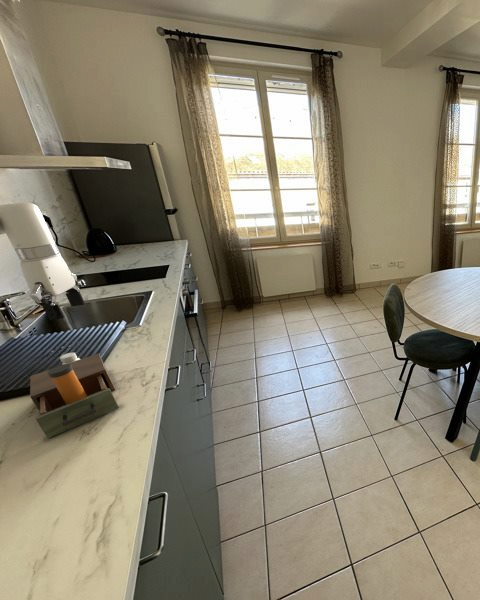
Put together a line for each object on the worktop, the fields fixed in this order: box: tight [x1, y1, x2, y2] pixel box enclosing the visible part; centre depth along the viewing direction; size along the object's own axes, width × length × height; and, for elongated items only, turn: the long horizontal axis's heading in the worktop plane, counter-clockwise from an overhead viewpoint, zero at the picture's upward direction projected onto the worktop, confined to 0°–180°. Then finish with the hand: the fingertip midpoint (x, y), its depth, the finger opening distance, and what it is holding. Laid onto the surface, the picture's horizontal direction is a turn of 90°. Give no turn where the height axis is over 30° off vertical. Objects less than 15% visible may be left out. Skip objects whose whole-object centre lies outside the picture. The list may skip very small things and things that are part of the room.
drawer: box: [35, 374, 120, 439], centre depth 83 cm, size 17×13×6 cm
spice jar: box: [48, 363, 87, 405], centre depth 82 cm, size 4×4×12 cm
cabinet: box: [29, 353, 116, 413], centre depth 91 cm, size 14×15×8 cm
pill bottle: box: [59, 352, 81, 365], centre depth 100 cm, size 4×4×8 cm
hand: (68, 311), depth 92 cm, fingers open, 9 cm apart
